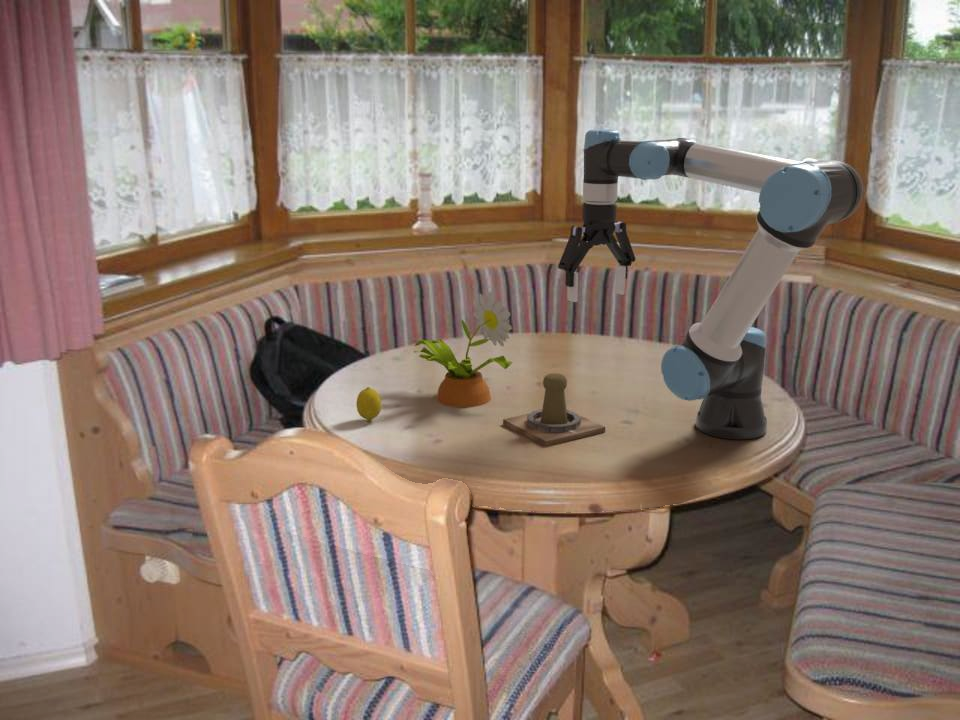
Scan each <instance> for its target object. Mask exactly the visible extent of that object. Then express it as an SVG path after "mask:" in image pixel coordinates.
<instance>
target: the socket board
mask: <svg viewBox="0 0 960 720" xmlns="http://www.w3.org/2000/svg"><path fill="white" fill-rule="evenodd" d="M566 411H567V420H568V423H566V424H559V425H550V424H544V423H540V422H541V415H542V409H538V410H534V411H532V412H529V413H526V414H521V415H517V416H512V417H507V418H503V419H502V425H504V426H506V427H508V428H509V429H511V430H513V431H515V432H517V433H519V434H521V435H523V436H525V437H526V438H529V439H530V440H533V441H535V442H536V443H538V444H540V445H542V446H544V447H550V446H554V445H559V444H562V443H567V442H570V441H574V440H578V439H582V438H587V437H591V436H594V435H599V434H604V433H606V426H605V425H602V424H600V423H599V422H595V421H593V420H591V419H589V418H587V417H584V416H583V415H581V414H578V413H575V412H574V411H572V410H569V409H567V408H566Z"/></svg>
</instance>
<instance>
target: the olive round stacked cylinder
mask: <svg viewBox="0 0 960 720" xmlns="http://www.w3.org/2000/svg"><path fill="white" fill-rule="evenodd" d="M542 385H543V388H544V389H545V391H544V398H543V404H542V409H541V410H542V415H541V422H540V423H544V424H550V425H559V424H566V423H568V420H567V411H566V409H567V403H566V394H565V389H566V388H567V385H568V379H567V378H566V376H565V375H564V374H562V373H561V374H560V373H548V374H546V375H544V377H543V381H542Z"/></svg>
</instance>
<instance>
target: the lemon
mask: <svg viewBox="0 0 960 720" xmlns="http://www.w3.org/2000/svg"><path fill="white" fill-rule="evenodd" d="M356 409H357V410H356V411H357V413H358V414H359V416H360V417H361V418H362V419H365V420H367V422H371V421H372V420H373V419H375V418H376V417H378V416H379V414H380V413H381V410H382V399H381V396H380V394H379V392H378V391H377V390H376V389H374V388H372V387H370V386H367V387H366V388H364V389H362V390H361V391H359V393H358V395H357V398H356Z"/></svg>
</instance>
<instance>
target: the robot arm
mask: <svg viewBox="0 0 960 720" xmlns="http://www.w3.org/2000/svg"><path fill="white" fill-rule="evenodd" d="M582 150H583V151H582V152H583V180H582V182H583V183H582V200H583V204H582V206H581V208H582V209H581V210H582V211H581V218H582V222H583V224H582V226H578V225H572V226H571V227H570V228H571V229H570V234H569V238H568V241H567V243H566V245H565V247H564V250H563V252H562V255H561V258H560V260H559V263H558V264H557V265H558V266H557V268H558V269H559V270H562V271H564V272H565V286H566V287H567V294H566V296H567V299H566V300H567V301H570V302H573V303H577V302H579V301H578V299H579V296H578V295H579V294H578V293H579V272H577V271H576V270H577V269H578V268H579V266H580V265H581V263H582V261H583V260H584V258H585V257H586V255H587V254H588V253H589V251H590V249H592V248H593V247H595V246H596V247H597V246H600V245H603V246H604V245H606V246H607V248H608V250H610V252H611V254H612V255H613V257H614V259H615V260H616V261H617V263H618V264H615V267H614V291H613V292H614V294H617V295H622V296H623V295H625V294H626V292H625V291H626V280H627V278H628V271H629V270H628V268H629V267H630V266H632V263H635V261H636V256H635V254H634V250H633V247H632V244H631V241H630V239H629V236H628V233H627V223H626V222H623V221H618V220H617V216H618V214H617V212H618V210H617V208H618V204H617V203H616V201H618V190H619V189H618V188H619V187H618V185H619V177H623V178H632V179H638V180H639V179H640V180H643V181H647V180H654V181H655V180H659V179H661V178H662V177H663V176H672V175H673V176H679V177H683V178H688V179H693V180H698V181H703V182H706V183H707V182H708V183H710V184H711V183H712V184H717V185H722V186H725V187H730V188H733V189H734V188H735V189H739V190H744V191H749V192H751V193H752V192H753V193H756V194H757V193H758V194H759V196H758V203H759V208H758V209H759V210H758V213H757V214H756V216H755V221H756V224H757V227H758V228H757V231H756V232H755V233H754V235H753V237H752V239H750V242H749V244H748V245H747V248H745V250H744V252H743V254H742V256H741V257H740V259H739V260H738V262H737V264H736V266H735V267H734V268H733V270H732V272H731V274H730V275H729V277H728V278H727V280H726V282H725V284H724V285H723V286H722V287H723V288H722V289H721V291H720V292H719V293H718V296H716V298H715V301H714V302H713V304H712V305H711V307H710V309H709V311H708V312H707V314H706V315H705V316H704V319H702V322H695V323H693V324H692V325H691V327H689V329H688V331H687V332H686V334H685V336H684V337H683V338H682V341H681V343H679V344H678V345H673V346H672V347H671V348H669V349H667V350H666V352H665V353H664V354H663V357H662V359H661V362H660V363H661V364H660V369H661V371H660V372H661V374H662V376H663V378H662V379H663V382H664V384H665V386H666V387H667V389H668V390H669V391H670V392H671V393H672V394H673V395H674V396H675V397H677V398H678V399H681V400H683V401H688V402H689V401H696V400H702V401H701V405H700V407H699V410H698V411H697V412H696V419H695V420H696V421H695V427H696V428H697V430H699V431H700V432H702V433H704V434H706V435H709V436H711V437H712V436H713V437H714V438H715V437H716V438H719V439H727V440H728V439H729V440H749V439H750V440H752V439H757V438H759V437H762V436H764V435H765V434H766V433H767V429H768V419H767V417H766V415H765V411H764V405H763V399H762V390H763V381H764V380H763V378H764V369H765V358H766V357H765V356H766V350H767V346H766V345H767V344H766V339H767V336H766V334H765V332H764V331H763V330H761V329H760V328H757V327H752V326H753V324H754V323H755V321H756V319H757V318H758V316H759V314H760V313H761V311H762V310H763V309H764V307H765V305H766V304H767V302H768V301H769V299H770V298H771V296H772V294H773V293H774V292H775V289H776V288H777V286H778V285H779V283H780V282H781V280H782V279H783V277H784V275H785V274H786V272H787V271H788V270H789V268H790V266H791V265H792V263H793V261H794V259H795V258H796V257H797V255H798V254H799V252H800V251H804V250H809V249H812V247H814V244H815V243H816V241H817V240H818V238H819V237H820V235H821V234H822V232H824V231H823V230H825V228H826V226H827V225H832V224H835V223H839V222H841V221H844V220H846V219H847V218H849V217H850V216H852V215H853V214H854V213H855V212H856V211H857V209H858V208H859V206H860V204H861V203H862V200H863V196H864V195H863V194H864V183H863V181H862V178H861V176H860V174H859V172H857V171H858V170H856V169H855V168H854V167H853V166H852V165H850V164H848V163H846V162H844V161H843V162H842V161H840V160H824V159H817V158H813V157H808V158H805V159H803V160H802V161H797V160H793V159H788V158H787V159H786V158H783V157H782V158H781V157H776V156H770V155H765V154H759V153H754V152H750V151H749V152H748V151H743V150H739V149H732V148H728V147H722V146H717V145H712V144H706V143H701V142H697V141H696V140H695V139H694V138H693V139H692V138H686V137H678V138H671V139H659V140H658V139H656V140H644V141H643V140H642V141H641V140H639V141H636V140H635V141H634V140H631V141H630V140H621V134H620V131H619V130H618V129H590V130H589V129H588V131H586V133H585V136H584V144H583V149H582ZM616 220H617V221H616ZM614 233H615V236H616V237H615V236H614Z"/></svg>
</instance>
